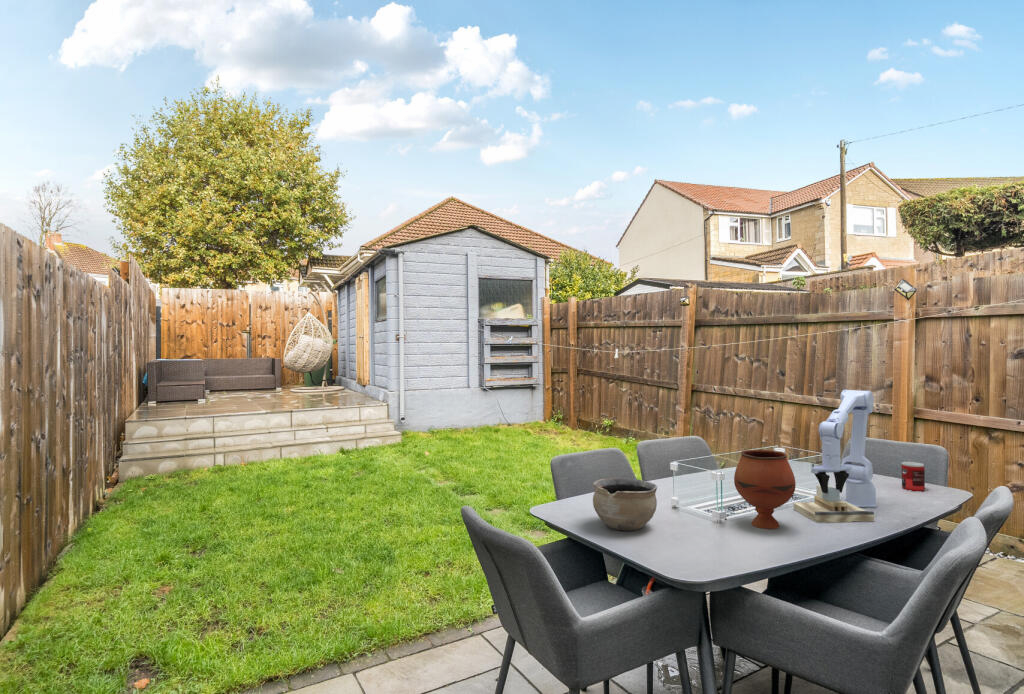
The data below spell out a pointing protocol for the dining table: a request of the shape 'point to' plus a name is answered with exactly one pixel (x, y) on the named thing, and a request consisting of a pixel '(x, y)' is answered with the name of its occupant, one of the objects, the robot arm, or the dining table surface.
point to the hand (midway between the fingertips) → (831, 492)
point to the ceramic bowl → (624, 502)
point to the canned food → (913, 476)
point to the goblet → (764, 483)
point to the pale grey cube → (832, 495)
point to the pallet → (831, 504)
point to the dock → (833, 513)
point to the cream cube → (820, 491)
